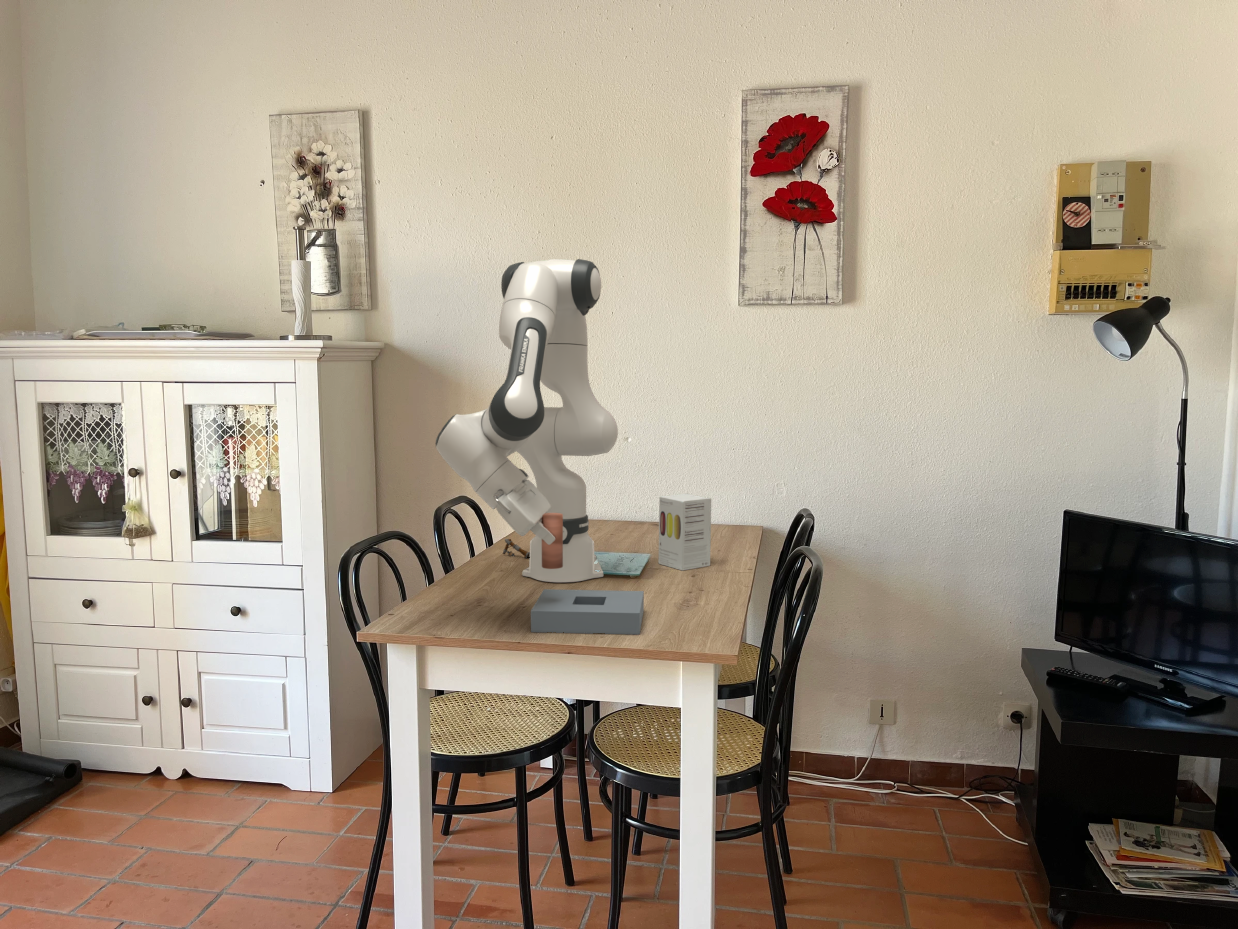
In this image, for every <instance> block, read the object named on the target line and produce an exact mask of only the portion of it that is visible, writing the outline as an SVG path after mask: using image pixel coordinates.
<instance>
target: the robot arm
mask: <svg viewBox="0 0 1238 929" xmlns="http://www.w3.org/2000/svg"><path fill="white" fill-rule="evenodd" d="M500 285H501V287H500V288H501V294H502V299H503V302H502V306H501V311H500V315H499V316H500V317H499V324H498V334H499V335H498V337H499V339H500V342H502V344H503V345H504V346H506V348H507V349H509V350H510V355H509V360H508V365H507V372H506V378H505V380H504V383H503V384H501V386H500V387H499V388H498V389H497V391H496V392H495V393H494V395H493V397H492V399H491V401H490V403H489V405H488V407H487V408H486V409H483V410H480V411H476V412H473V413H466V414H457V413H456V414H454V415H452V416H451V417H450V418H449V419H448V420H447V421H446V423H445V424H444V426H443V427H442V428H441V430H440V431H439V433H438V434H437V435H436V438H435V448H436V451H437V452H438V453H439V455H440V456H441V458H442V459H443V460H444V461H445V463H446V464H447V465H448V466H449V467H450V468H451V469H452V470H453V471H454V472H455V473H456V474H457V476H459V477H460V478H461V479H464V480H465V481H466V482H467V483H469V485H470V486H471V488H472V490H473V491H474V492H475V493H476V494H477V495H478V496H479V497H480V499H482V500H483V501H484V503H486V504H487V505H488V506H489V507H490V508H491V509H492V510H495V509H496V511H497V513H498V514H499V515H500V516H501V517H502V518H503V520H504V521H505V522H506V523H507V524H508V525H509V527H510V528H511V529H512V530H513V531H514V532H515V533H516V534H517V535H519V536H520V537H525V536H526V535H527V534H528V533H529V532H532V534H533V535H535V536H534V537H532V539H530V542H529V552H530V558H529V563H528V564H529V567H527V568H525V569H523V570H522V572H521V575H522V576H523V577H529V578H532V579H534V580H538V581H541V582H549V583H575V582H581V581H588V580H591V579H597V578H603V577H604V571H603V569H602V566H601V565H600V563H599V561H598V563H597V564H594V562H595V561H596V560H598V559H597V558H598V557H597V554H595V541H594V540H593V538H592V537H591V536H590V534H589V528H590V527H589V526H590V520H589V515H588V514H587V485H586V482H585V480H584V479H583V478H582V476H580V475H579V474H578V473H577V472H574V471H572V470H571V469H569V468H568V467H567V466H566V465H565V463H564V460H563V458H562V457H563V456H568V457H573V456H574V457H591V456H598V455H602V454H603V455H604V454H608V453H609V452H610V451H611V450H612V449H613V448H614V446H615V444H616V442H617V439H618V434H619V429H618V424H617V421H616V420H615V418H614V416H613V415H612V413H611V412H610V411H608V410H607V409H606V408H605V407H604V406H602V404H601V403H600V402H599V401H598V399H597V398H596V397H595V394H594V392H593V390H592V387H591V384H590V380H589V368H588V366H589V365H588V363H589V362H588V351H589V350H588V343H589V342H588V339H589V338H588V327H587V317H586V315H588V313H589V311H590V310H591V309H593V308H594V307H595V305H596V304H597V303H598V302H599V299H600V296H601V291H602V279H601V274H600V271H599V268H598V267H597V266H596V264H595V263H594V262H593V261H590V260H586V259H583V258H581V259H580V258H578V259H576V260H575V259H565V258H562V259H561V258H555V259H554V258H549V259H546V260H536V261H535V260H534V261H529V262H524V261H520V262H516V263H513V264H511V265H509V266H508V267H507V268H506V269H505V271H504V272H503V274H502V276H501V284H500ZM541 383H542V385H544V386H545V387H546V388H547V389H549V390H551V391H552V392H553V393H556V394H558V395H559V396H560V399H561V400H562V406H560V407H557V406H555V407H553V406H552V407H551V406H545V404H544V400H543V396H542V392H541ZM514 453H517V454H519V455H520V456H521V457H522V459H524V460H525V461H526V463H527V464H528V466H529V467H530V469H531V472H532V475H533V476H534V480H535V483H536V485H535V484H534V483H533V482H532V481H531V480H529V477H530V476H529V474H528V473H527V472H525V470H523V469H521V468H518V466H516V465H515V464H514V463H513V462H512V461H511V460H510V458H508V457H509V456H511V455H512V454H514ZM544 513H561V514H563V567H562V568H558V569H546V568H543V567H542V539H543V540H544V541H545V542H546V543H547V544H549V545H550V544H551V543H552V542H553V541H554V540H555V539H556V536H555V535H554V534H553V533H552V532H551V531H550V532H549V531H548V530H547V529H546V528H545V527H544V526H543V524H542V515H543V514H544ZM595 570H600V571H599V572H597V571H595Z"/></svg>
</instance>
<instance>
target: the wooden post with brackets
mask: <svg viewBox="0 0 1238 929" xmlns="http://www.w3.org/2000/svg"><path fill="white" fill-rule="evenodd" d="M504 542H505V543H506V544H505V547H504V549H503V550H502V554H503V555H506V554H507V556H509V557H511V556H512V557H513V556H515V557H516V555H515V553H514V552H513V550H515V551H517V552H519V553H520V554H521V555H523V556H524V559H525V558H526V559H528V558H527V557H530V551H527V550H525V549H522V547H520V546H519V545H518V544H517V543H516V544H515V543H514V542H513V541H512V539H511V538H505V539H504ZM511 547H512V549H513V550H512V551H509V550H508V549H509V548H511Z"/></svg>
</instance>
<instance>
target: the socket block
mask: <svg viewBox="0 0 1238 929" xmlns="http://www.w3.org/2000/svg"><path fill="white" fill-rule="evenodd" d="M644 594H645V593H644V590H608V589H607V590H605V589H604V590H601V589H600V590H599V589H598V590H597V589H549V588H548V589H547V588H546V589H545V588H544V589H543V590H542V591H541V594H540V595H539V597H538V598H537V601H536V602H535V603H534V605H533V606H532V608H531V610H530V632H531V633H547V632H552V633H553V632H556V633H558V634H559V633H561V634H593V633H605V634H604V635H639V634H641V630H642V623H643V616H644V611H645V610H644V609H645V608H644V607H645V605H644V604H645V602H644V601H645V596H644ZM563 632H564V633H563ZM556 633H555V634H556Z"/></svg>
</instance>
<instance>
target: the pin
mask: <svg viewBox="0 0 1238 929" xmlns="http://www.w3.org/2000/svg"><path fill="white" fill-rule="evenodd" d="M542 524H543V526H544V527H545V528H546V529H547V530H548V531H549V532H550V531H551V532H552V533H553V534H554V535H555V536H556V539H555V540H554V541H553V542H552V543H551V544H550V545H549V544H547V543H546V542H545V541H544V540H543V539H542V567H543V568H546V569H558V568H562V567H563V514H561V513H544V514H543V515H542Z"/></svg>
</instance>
